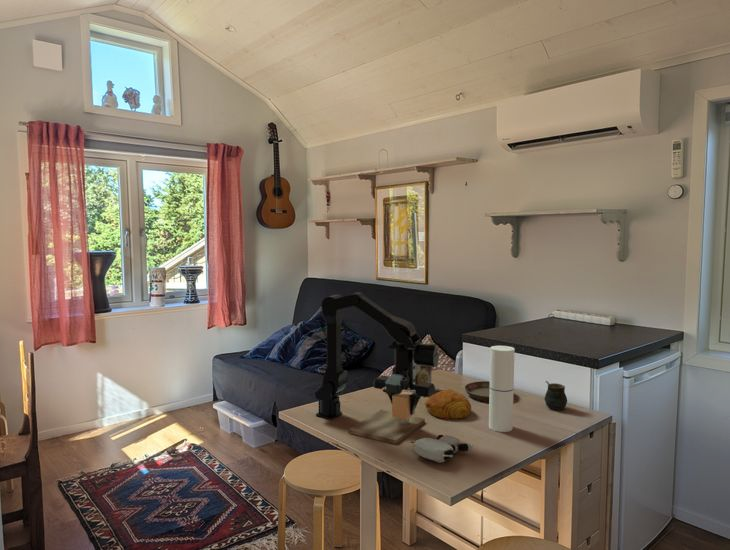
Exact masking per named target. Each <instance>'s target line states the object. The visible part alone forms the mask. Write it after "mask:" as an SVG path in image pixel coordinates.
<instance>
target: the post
mask: <svg viewBox="0 0 730 550" xmlns="http://www.w3.org/2000/svg"><path fill="white" fill-rule="evenodd" d="M408 423H409V419H408V420H407V419H402V418H398V424H401V425H407V424H408Z"/></svg>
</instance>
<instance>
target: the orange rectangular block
mask: <svg viewBox="0 0 730 550" xmlns="http://www.w3.org/2000/svg"><path fill="white" fill-rule="evenodd" d="M412 393H413V392H409V391H407V392H406V391H402V392H401V393H400V394H394V395H393V396H392V403H391V405H392V406H391V412H392V417H397V418H402V419H407V420H408V419H409V418H410V417H412V416H415V415H416V409H415V410H414V413H413V414H412V415H410V404H411V398H410V396H409V395H411V394H412Z"/></svg>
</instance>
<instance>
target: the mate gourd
mask: <svg viewBox="0 0 730 550" xmlns="http://www.w3.org/2000/svg"><path fill="white" fill-rule="evenodd" d="M545 382H546V384H547V390H546V393H545V394H544V402H545V405H546V406H547V408H549V409H550V410H552V411H563V410H564V409H565V408H566V407H567V404H568V399H567V398H568V397H567V394H566V393H565V390H566V389H565V388H566V386H565V385H563V384H561V383H557V382H556V383H555V382H554V383H553V382H552V383H549V382H548V381H547V380H545Z"/></svg>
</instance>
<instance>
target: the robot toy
mask: <svg viewBox="0 0 730 550" xmlns="http://www.w3.org/2000/svg"><path fill="white" fill-rule="evenodd" d="M407 443H408V444H413V450H414V452H415V454H417V455H418V456H420V457H422V458H424V459H427V460H430V461H434V462H436V463H438V464H441V463H444V462H446V461H449V460H450V459H452V458H454V454H455V453H457V452H458V451H460V452H468V451H469V450H473V448H474V447H473V445H471V444H468V443H461V439H460V438H458V437H455V436H452V435H450V434H449V435H446V434H445V435H443V434H438V435H437V437H436V438H432V437H422V438H420V439H415V441H410V440H408V441H407Z"/></svg>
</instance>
